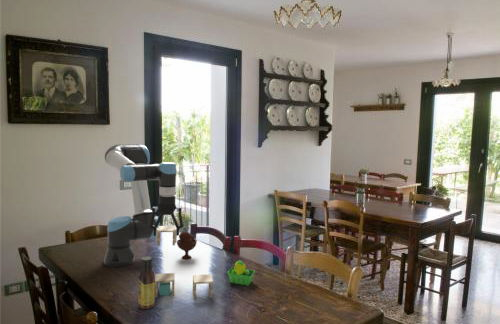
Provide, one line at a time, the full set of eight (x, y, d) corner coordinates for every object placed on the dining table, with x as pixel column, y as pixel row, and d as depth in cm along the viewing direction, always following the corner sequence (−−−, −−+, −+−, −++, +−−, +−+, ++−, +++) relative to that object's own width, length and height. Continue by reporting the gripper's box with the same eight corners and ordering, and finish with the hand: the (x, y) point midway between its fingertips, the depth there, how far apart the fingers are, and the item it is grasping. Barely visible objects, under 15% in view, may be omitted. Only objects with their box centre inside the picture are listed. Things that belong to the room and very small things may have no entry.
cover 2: (154, 297, 159) (154, 281, 159) (155, 289, 167) (155, 273, 166) (174, 296, 161) (174, 280, 160) (174, 288, 169) (174, 273, 168)
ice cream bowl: (192, 262, 203) (193, 234, 201) (173, 260, 205) (173, 232, 204) (199, 255, 213) (199, 229, 212) (180, 254, 215) (181, 228, 214)
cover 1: (157, 245, 177) (157, 230, 176) (158, 240, 185) (158, 226, 184) (174, 245, 178) (175, 230, 177) (175, 240, 186) (175, 225, 185)
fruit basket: (255, 281, 180) (255, 257, 179) (248, 288, 171) (249, 263, 170) (232, 277, 183) (233, 254, 182) (225, 284, 175) (226, 260, 174)
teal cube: (159, 295, 161) (159, 285, 161) (159, 291, 166) (159, 281, 165) (170, 295, 162) (170, 284, 162) (170, 290, 166) (170, 280, 166)
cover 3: (193, 298, 159) (193, 282, 158) (192, 290, 167) (192, 275, 166) (212, 297, 160) (213, 281, 160) (210, 289, 168) (211, 274, 168)
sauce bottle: (140, 302, 154) (140, 254, 152) (155, 302, 154) (156, 254, 153) (136, 310, 147) (136, 260, 146) (153, 310, 148) (153, 260, 146)
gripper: (143, 196, 173) (142, 245, 176) (189, 197, 177) (188, 244, 180) (145, 193, 181) (144, 239, 183) (189, 193, 185) (188, 239, 187)
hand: (166, 242), depth 181 cm, fingers closed on cover 1, 8 cm apart
